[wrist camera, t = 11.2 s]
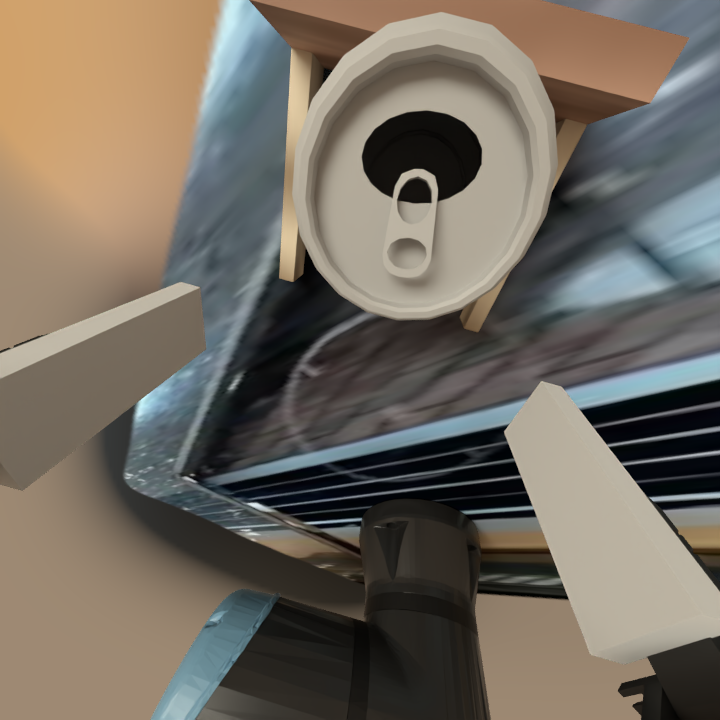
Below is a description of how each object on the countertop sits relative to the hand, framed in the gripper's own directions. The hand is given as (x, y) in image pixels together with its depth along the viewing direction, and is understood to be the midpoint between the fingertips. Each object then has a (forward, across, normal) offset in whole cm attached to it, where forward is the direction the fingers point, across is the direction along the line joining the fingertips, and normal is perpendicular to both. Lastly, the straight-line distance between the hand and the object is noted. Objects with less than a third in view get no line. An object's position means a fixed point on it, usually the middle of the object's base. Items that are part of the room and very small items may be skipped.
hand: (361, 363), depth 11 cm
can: (+11, 0, -6) cm, 12 cm away
